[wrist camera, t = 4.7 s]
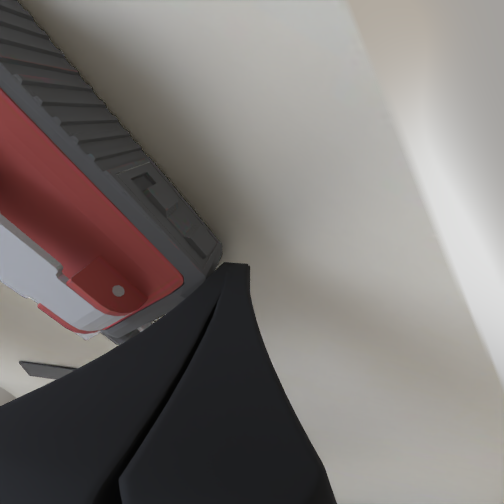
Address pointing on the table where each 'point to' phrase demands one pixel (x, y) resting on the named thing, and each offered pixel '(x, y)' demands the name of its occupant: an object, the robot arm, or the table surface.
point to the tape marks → (45, 370)
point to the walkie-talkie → (85, 200)
